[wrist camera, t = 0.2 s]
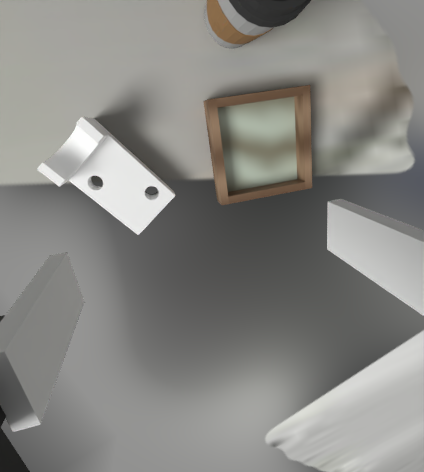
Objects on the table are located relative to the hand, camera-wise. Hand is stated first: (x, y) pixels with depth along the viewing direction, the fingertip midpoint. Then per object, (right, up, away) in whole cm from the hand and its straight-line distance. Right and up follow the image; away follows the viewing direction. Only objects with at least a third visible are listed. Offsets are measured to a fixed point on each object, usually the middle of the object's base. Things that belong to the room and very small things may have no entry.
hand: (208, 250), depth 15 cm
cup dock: (+6, +13, +26) cm, 30 cm away
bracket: (-12, +9, +25) cm, 29 cm away
